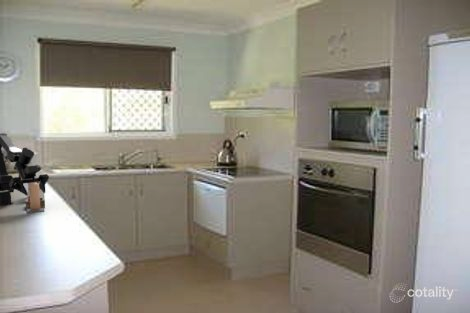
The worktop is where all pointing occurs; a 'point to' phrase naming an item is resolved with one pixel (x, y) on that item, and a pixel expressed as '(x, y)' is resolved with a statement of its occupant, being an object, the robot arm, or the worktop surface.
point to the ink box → (39, 191)
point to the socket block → (42, 203)
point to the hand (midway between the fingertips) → (36, 193)
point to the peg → (34, 196)
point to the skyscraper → (35, 163)
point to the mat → (35, 210)
